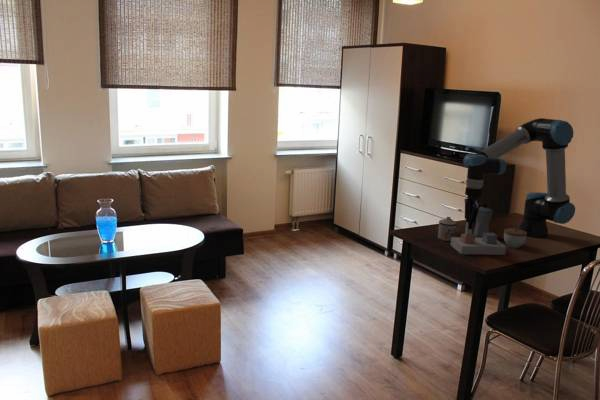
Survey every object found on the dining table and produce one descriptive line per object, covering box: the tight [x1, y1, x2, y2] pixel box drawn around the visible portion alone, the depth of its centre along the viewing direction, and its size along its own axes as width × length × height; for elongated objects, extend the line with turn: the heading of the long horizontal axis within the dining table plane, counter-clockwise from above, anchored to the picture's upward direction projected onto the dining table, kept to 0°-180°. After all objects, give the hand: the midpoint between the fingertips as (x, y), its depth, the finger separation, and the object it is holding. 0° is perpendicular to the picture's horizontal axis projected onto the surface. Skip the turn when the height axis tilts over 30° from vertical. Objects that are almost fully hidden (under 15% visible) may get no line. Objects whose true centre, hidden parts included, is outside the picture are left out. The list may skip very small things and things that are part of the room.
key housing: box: [450, 236, 508, 256], centre depth 257 cm, size 22×14×4 cm, turn 95°
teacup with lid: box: [437, 216, 459, 242], centre depth 273 cm, size 12×9×12 cm
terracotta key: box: [460, 233, 476, 244], centre depth 256 cm, size 5×5×4 cm
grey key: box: [482, 232, 498, 244], centre depth 256 cm, size 5×5×4 cm
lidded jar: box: [503, 227, 527, 249], centre depth 265 cm, size 11×11×9 cm
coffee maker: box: [472, 202, 494, 238], centre depth 281 cm, size 15×9×18 cm, turn 20°
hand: (468, 234), depth 255 cm, fingers closed
